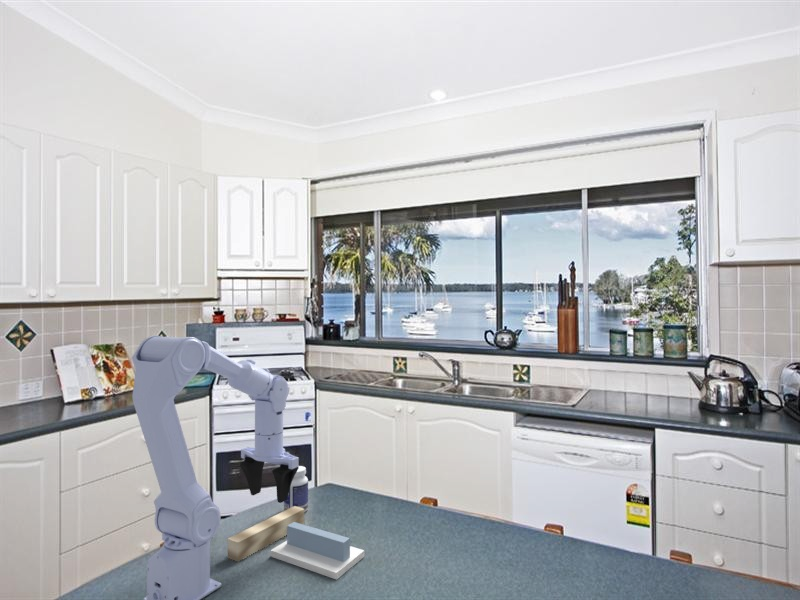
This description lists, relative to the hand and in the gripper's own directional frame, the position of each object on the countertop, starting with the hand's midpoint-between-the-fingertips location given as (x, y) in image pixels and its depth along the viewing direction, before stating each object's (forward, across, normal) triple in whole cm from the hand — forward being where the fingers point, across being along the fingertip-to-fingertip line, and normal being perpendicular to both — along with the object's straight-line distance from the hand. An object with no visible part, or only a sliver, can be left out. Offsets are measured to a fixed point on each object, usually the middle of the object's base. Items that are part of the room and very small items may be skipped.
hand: (268, 497), depth 99 cm
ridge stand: (+9, -13, 0) cm, 16 cm away
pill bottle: (+9, +5, -14) cm, 17 cm away
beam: (+9, 0, 0) cm, 9 cm away
